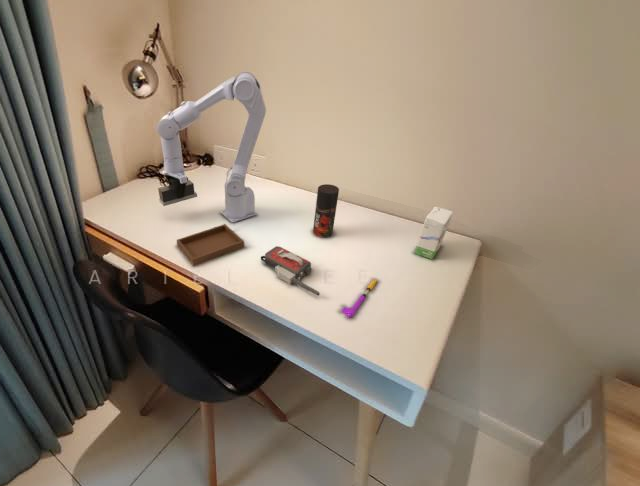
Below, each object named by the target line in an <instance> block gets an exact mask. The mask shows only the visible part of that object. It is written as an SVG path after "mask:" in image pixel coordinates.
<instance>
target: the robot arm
mask: <svg viewBox="0 0 640 486" xmlns="http://www.w3.org/2000/svg"><path fill="white" fill-rule="evenodd" d="M235 99H236V100H237V101H238V102H239V103H241V104H242V105H243V106H244V108H245V110H246V111H247V113H248V114H247V117H246V121H245V124H244V127H243V131H242V134H241V137H240V140H239V143H238V147H237V150H236V154H235V157H234V160H233V162H232V165H231V166H230V167H229V169H227V171H226V178H225V182H224V203H225V205H224V207H225V210H221V211H220V214H222V216H224V217H225V218H226V220H228V221H230V222H231V223H235V222H239V221H242V220H245V219H248V218H251V217H254V216H257V213H256V211H255V210H256V206H255V205H256V203H255V202H256V198H255V197H256V196H255V193H254V190H253V189H252V188H251V187H250V186H246V185H245V184H246V178H247V177H246V175H247V172H248V168H249V165H250V163H251V162H250V161H251V159H252V155H253V152H254V150H255V149H254V148H255V147H256V143H257V140H258V138H259V134H260V131H261V129H262V126H263V122H264V119H265V117H266V115H267V114H266V113H267V107H266V104H265V103H266V102H265V99H264V96H263V92H262V87H261V84H260V82H259V81H258V79H257V78H256V76H255V75H254V74H253V73H252V72H250V71H242V72H240V73H238V75H236V76H232V77H230V78H228V79H227V80H225V81H223V82H222V83H220V84H219V85H217V86H216V87H214V88H213V89H211V90H210V91H209V92H207V93H206V94H204V95H203V96H202V97H200V98H199V99H197V100H196V101H192V100H188V101H185V100H184V101H181V103H180V106H179V107H177V108H176V109H174V110H173V111H171V110H170V111H168V112H167V114H166V115H164V116H163V117H162V118H161V119H160V121H158V123H157V125H156V131H157V132H156V133H158V135H159V136H160V141H161V149H162V157H163V161H164V162H163V168H164V170H162V171H161V174H162V175H163V176H164V178H165V179H166V181H167V183H168V185H173V187H174V190H175V193H176V196H177V198H178V199H180V198H183V197H184V192H185V187H186V184H187V182H188V180H189V177H188V176H187V175H186V171H185V167H184V160H183V151H182V144H181V138H180V132H179V131H183V130H184V129H186V128H187V127H189V126H191V125H193V124H194V123H196V122H198V121H199V120H200V119H201V115H202V112H204V111H207V110H209V108H211V107H213V106H215V105H216V104H218V103H220V102H222V101H223V100H227V101H234V100H235Z"/></svg>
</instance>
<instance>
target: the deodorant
mask: <svg viewBox="0 0 640 486" xmlns="http://www.w3.org/2000/svg"><path fill="white" fill-rule="evenodd" d="M339 193H340V188H339V187H338V186H337V185H334V184H329V183H328V184H320V185H318V187H317V193H316V201H315V202H316V203H315V211H314V220H313V229H312V233H313V235H315V237H318V238H321V239H326V238H327V239H328V238H331V237H332V236H333V234H334V226H335V219H336V214H337V213H336V212H337V207H338V200H339Z"/></svg>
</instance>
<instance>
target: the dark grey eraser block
mask: <svg viewBox="0 0 640 486" xmlns="http://www.w3.org/2000/svg"><path fill="white" fill-rule="evenodd" d="M157 190H158V194H159V195H158V196H159V198H158V200H159V203H160V204H161V205H162V206H163V207H166V206H169V205H174V204H176V203H181V202H184V201H187V200H190V199H194V198H197V197H198V193H197V192H196V191H195V186H194V183H193V182H192V181H191V180H190V179H188V182H187V184H186V187H185V192H184V197H183V198H180V199H178V198H177V196H176V193H175V190H174V187H173V185H169V184H168V185H165V186H161V187H158V188H157Z"/></svg>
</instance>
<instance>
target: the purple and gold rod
mask: <svg viewBox="0 0 640 486" xmlns="http://www.w3.org/2000/svg"><path fill="white" fill-rule="evenodd" d="M377 282H378V280H377V279H374V280H372V281H371V282H370V284H369V285H368V286H367V287H366V292H365V293H363V294H362V295H360V297H359V298H358V299H357V301H356V302H355V303H354V304H353V306H351V307H346V306H344V307H343V309H341V311H340V312H341V313H343V314H345V315H346V317H347V318H348V319H349V318H351V319H352V317H353V316H354V314H355V313H357V312H356V311H357V310H358V309H359V307H360V305H362V304H363V302H364V301H365V300H366V297H367V296H366V295H367V294H368V292H369V290H370V291H372V290H373V289H374V287H375V285H376V284H377Z"/></svg>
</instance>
